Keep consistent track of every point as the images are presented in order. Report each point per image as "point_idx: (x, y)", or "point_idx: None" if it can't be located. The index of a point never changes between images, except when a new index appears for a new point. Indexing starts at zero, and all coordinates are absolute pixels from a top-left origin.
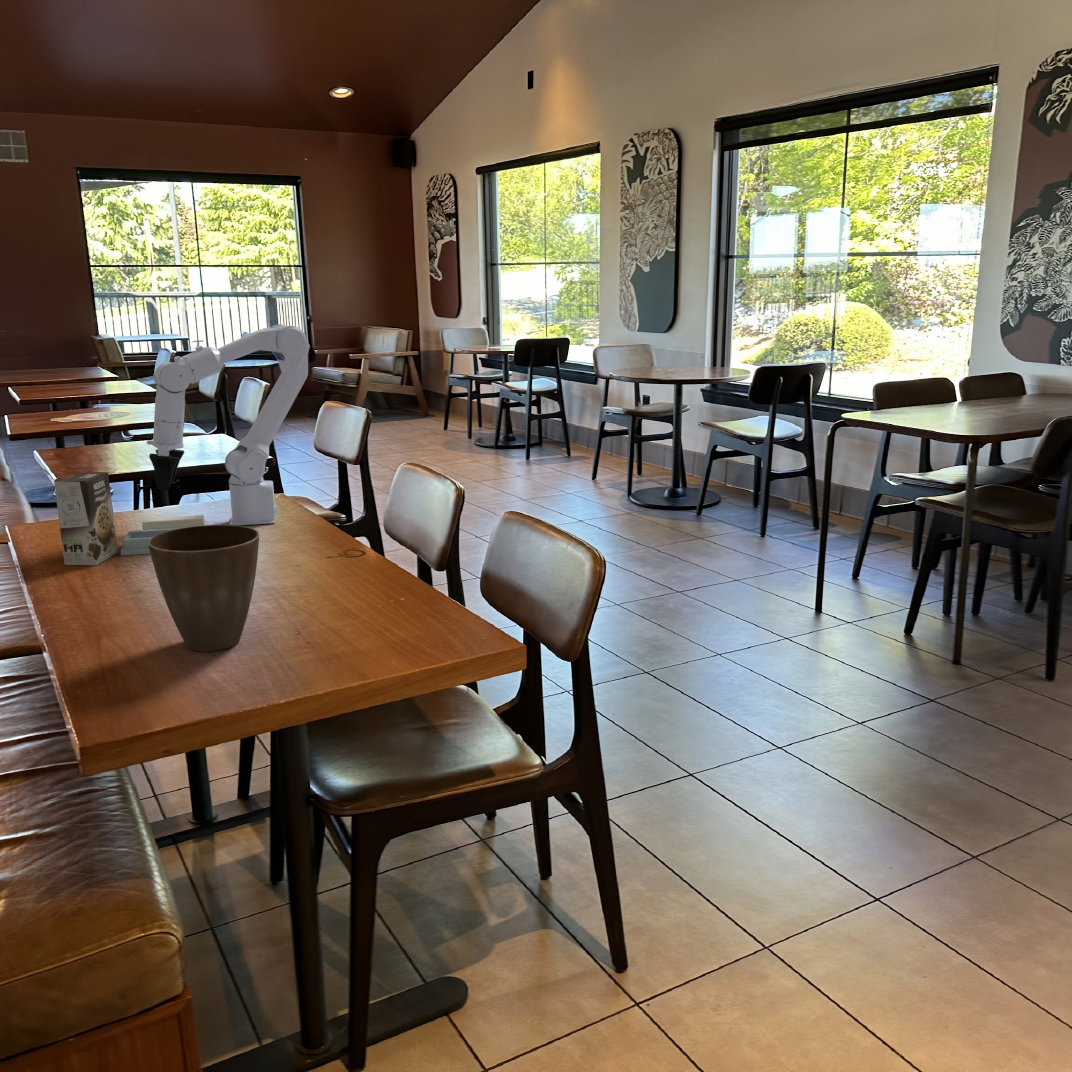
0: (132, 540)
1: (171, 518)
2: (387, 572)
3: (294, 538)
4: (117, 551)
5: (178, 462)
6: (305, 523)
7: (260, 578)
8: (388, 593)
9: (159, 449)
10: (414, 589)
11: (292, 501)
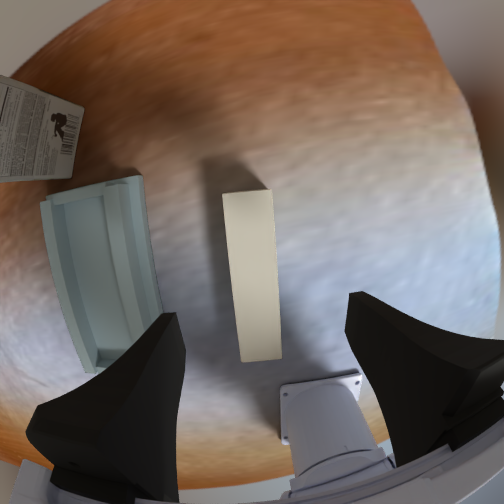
0: (44, 223)
1: (258, 279)
2: None
3: None
4: (68, 178)
5: (386, 423)
6: (273, 468)
7: (11, 399)
8: (24, 456)
9: (19, 494)
10: None
11: None
